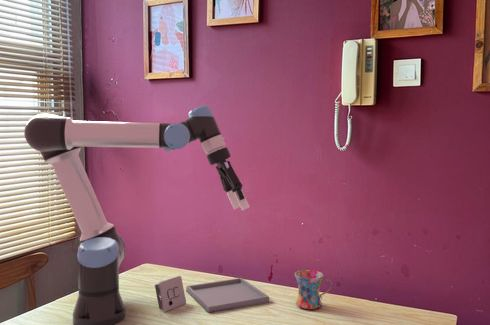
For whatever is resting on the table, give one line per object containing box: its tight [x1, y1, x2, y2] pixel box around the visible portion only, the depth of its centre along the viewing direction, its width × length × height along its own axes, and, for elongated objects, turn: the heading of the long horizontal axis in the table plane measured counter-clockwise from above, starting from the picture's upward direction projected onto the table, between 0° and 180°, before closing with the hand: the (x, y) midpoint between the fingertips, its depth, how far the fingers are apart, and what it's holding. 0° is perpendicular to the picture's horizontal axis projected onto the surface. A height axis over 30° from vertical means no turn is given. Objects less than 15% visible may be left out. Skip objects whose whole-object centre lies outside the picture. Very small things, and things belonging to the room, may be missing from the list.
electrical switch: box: [154, 275, 187, 312], centre depth 147 cm, size 9×5×9 cm, turn 141°
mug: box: [294, 269, 333, 310], centre depth 147 cm, size 12×9×11 cm
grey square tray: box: [185, 277, 270, 314], centre depth 155 cm, size 22×22×2 cm
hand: (241, 208), depth 152 cm, fingers open, 13 cm apart
